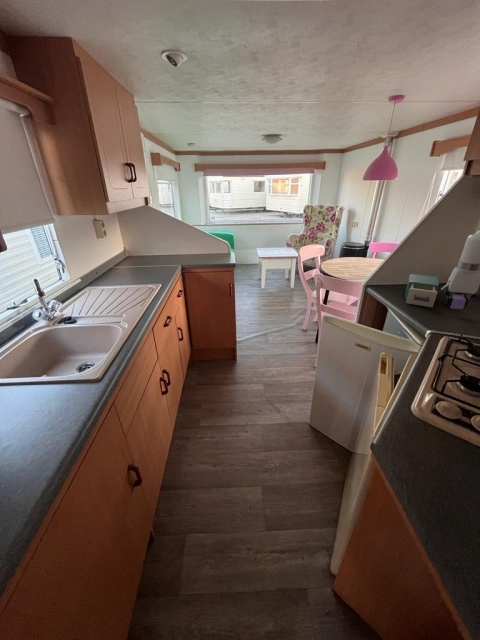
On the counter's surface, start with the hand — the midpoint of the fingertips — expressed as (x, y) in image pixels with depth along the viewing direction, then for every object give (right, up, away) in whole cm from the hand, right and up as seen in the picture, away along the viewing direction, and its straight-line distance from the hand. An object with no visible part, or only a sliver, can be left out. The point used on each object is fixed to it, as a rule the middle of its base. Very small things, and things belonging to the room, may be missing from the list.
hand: (455, 305), depth 117 cm
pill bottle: (+10, +1, +15) cm, 18 cm away
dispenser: (+1, +7, +26) cm, 27 cm away
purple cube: (0, 0, 0) cm, 0 cm away
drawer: (-5, +3, +17) cm, 18 cm away
